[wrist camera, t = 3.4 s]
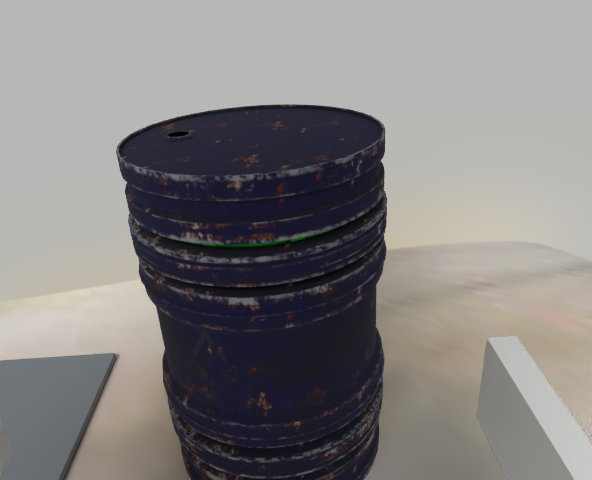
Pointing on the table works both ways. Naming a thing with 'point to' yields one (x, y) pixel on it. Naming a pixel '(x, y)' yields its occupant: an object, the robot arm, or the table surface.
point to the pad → (48, 410)
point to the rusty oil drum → (265, 285)
